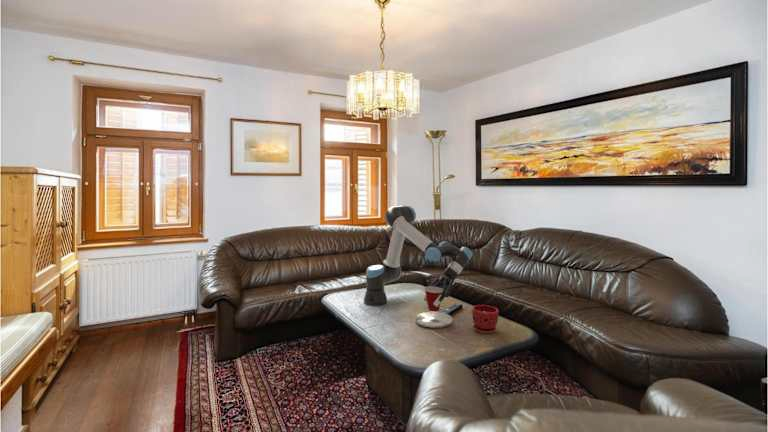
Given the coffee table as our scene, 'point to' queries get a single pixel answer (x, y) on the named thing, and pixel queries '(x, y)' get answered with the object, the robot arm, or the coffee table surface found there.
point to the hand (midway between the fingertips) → (429, 302)
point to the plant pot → (485, 318)
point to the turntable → (434, 319)
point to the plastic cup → (432, 297)
